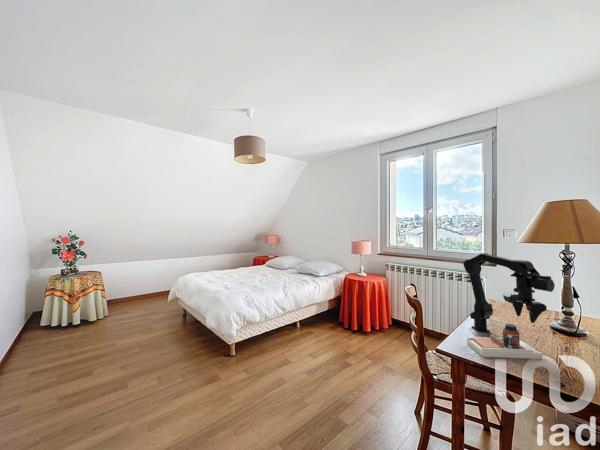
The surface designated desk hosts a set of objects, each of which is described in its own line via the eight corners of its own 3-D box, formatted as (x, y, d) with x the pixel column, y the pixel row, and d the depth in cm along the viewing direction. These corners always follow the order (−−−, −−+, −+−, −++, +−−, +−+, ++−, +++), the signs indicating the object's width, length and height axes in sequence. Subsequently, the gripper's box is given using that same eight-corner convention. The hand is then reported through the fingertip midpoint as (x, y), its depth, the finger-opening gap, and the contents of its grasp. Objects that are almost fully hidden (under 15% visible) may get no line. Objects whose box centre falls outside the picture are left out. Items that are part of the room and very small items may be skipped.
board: (467, 343, 125) (466, 336, 125) (520, 344, 122) (519, 337, 122) (482, 356, 112) (482, 349, 112) (542, 358, 109) (541, 351, 109)
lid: (473, 339, 123) (473, 334, 123) (493, 340, 121) (493, 334, 121) (484, 348, 113) (484, 342, 113) (506, 349, 112) (506, 343, 112)
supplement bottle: (513, 353, 113) (512, 328, 113) (500, 347, 118) (499, 323, 119) (523, 351, 114) (522, 326, 114) (509, 345, 120) (508, 322, 120)
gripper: (493, 282, 131) (495, 312, 131) (518, 291, 113) (519, 326, 112) (517, 282, 129) (518, 313, 129) (547, 292, 111) (548, 327, 111)
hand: (525, 319), depth 120 cm, fingers open, 9 cm apart
